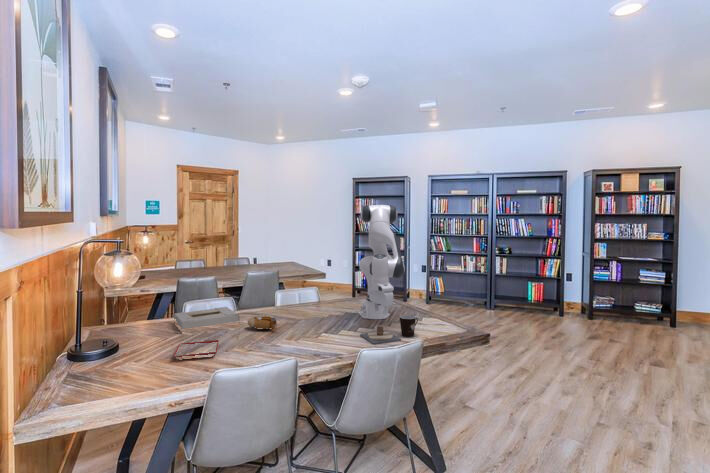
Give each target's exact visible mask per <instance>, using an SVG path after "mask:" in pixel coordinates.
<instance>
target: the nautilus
mask: <svg viewBox="0 0 710 473" xmlns="http://www.w3.org/2000/svg"><path fill="white" fill-rule="evenodd" d="M277 321H278V320H277V319H276V317H274V316H273V315H271V314H257V315H254V316H252V317H250V318H249V319H248V321H247V325H248V326H249V327H251V328H254V327H256V328H254V329H255V330H257V331H258V330H267V331H268V330H269V331H270V330H271V333H273V332H277V331H278V329H277V326H278V324H277ZM257 328H263V329H257ZM266 328H272V329H266ZM273 329H274V330H273Z"/></svg>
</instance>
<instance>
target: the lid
mask: <svg viewBox="0 0 710 473" xmlns="http://www.w3.org/2000/svg"><path fill="white" fill-rule="evenodd" d="M385 331H386V330H384V326H383V325H382V326H381V325H378V326H377V327H376V330H375V331H371V332H368V338H370V339H373V340H389V339H392V338H393V335H394V334H393V333H392V332H390V331H388V332H385Z"/></svg>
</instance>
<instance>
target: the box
mask: <svg viewBox="0 0 710 473" xmlns="http://www.w3.org/2000/svg"><path fill="white" fill-rule="evenodd" d="M174 319H176V321H177V323H178V325H179V326H180V327H181V329H185V328H193V327H201V326H209V325H216V324H223V323H229V322H236V321H239V322H240V314H239V313H238V312H236V311H234V310H232V309H231V308H229V307H228V306H221V307H214V308H209V309H202V310H193V311H186V312H185V311H181V312H176V313H174V314H173V320H174Z"/></svg>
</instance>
